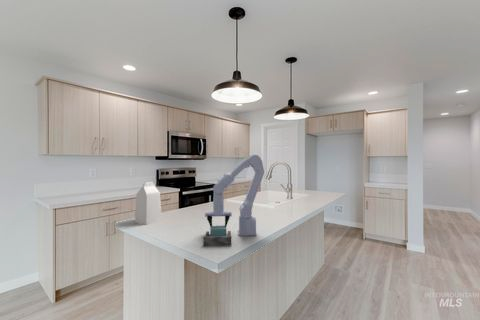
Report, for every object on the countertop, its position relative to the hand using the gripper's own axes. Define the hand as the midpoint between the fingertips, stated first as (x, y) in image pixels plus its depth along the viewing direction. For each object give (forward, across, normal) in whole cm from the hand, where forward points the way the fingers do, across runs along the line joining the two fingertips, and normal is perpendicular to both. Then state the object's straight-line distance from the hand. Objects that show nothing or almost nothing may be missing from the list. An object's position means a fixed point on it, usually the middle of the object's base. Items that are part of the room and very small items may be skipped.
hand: (218, 229), depth 123 cm
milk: (+3, +47, -27) cm, 55 cm away
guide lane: (+2, 0, +8) cm, 9 cm away
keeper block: (+2, 0, +5) cm, 6 cm away
